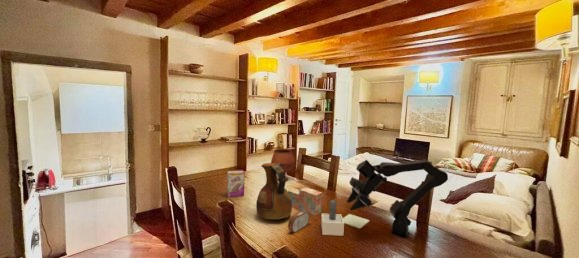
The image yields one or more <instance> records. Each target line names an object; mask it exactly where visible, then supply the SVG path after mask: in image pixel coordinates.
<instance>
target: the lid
mask: <svg viewBox="0 0 579 258" xmlns="http://www.w3.org/2000/svg"><path fill="white" fill-rule="evenodd" d="M328 214H329V215H324V216H323V217H324V222H339V223H342V222H341V218H340V215H336V214H337V200H335V199H330V200H329V213H328Z"/></svg>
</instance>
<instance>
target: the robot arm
mask: <svg viewBox="0 0 579 258" xmlns="http://www.w3.org/2000/svg"><path fill="white" fill-rule="evenodd" d="M355 170H356V171H357V172H359V173H360V174H361V175H362V176H363V177H364V178H367V179H363V180H360V179H357V178H355V177H353V176H352V177H351V178H350V180H349V185H350V186H351V192H350V194H349V197H348V198H347V200H346V203H347V204H350V203H352V202H353V201H354V202H353V204H352V205H351V206H350V207H349V210H350V211H355V210H358V209H361V208H364V207H370V206H371V205H372V200H371V198H370V195H371V194H372V193H373V192H374V193H375V192H376V189H377V188H378V187H379V185H381V184H382V183H384V184H385V185H387V184H388V177H393V176H396V175H398V174H399V173H405V172H416V171H425V173H427V174H426V176H425V179H424V180H423V182H421V184H419V185H418V186H417V187H416V188H415V189H414V190H413V191H412V192H411V193H410V194H408V195H407V196H406V197H405V198H404V199H403V200H400V201H399V200H398V199H396V200H395V201H394V202H393V203H392V204H390V207H389V213H390V214H391V216H392V217H393V218H394V220H393V221H392V227H391V230H392V232H391V234H392V235H395V236H398V237H401V238H405V239H406V238H407V237H408V236H409V234H410V232H409V226H411V223H412V221H411V219H410V218H408V216H409V215H410V212H411V210H412V208H413V207H414V206H415V205H416V204H418V203H419V202H420V201H421V200H422V199H423V198H424V197H425V196H426V195H427V194H428V193H429V192H430V191H431V190H432V189H435V188H436V187H441V186H443V184H445V183H446V182H448V180H449V176H448V173H447V172H446V171H444V170H441V169H439V168H437V167H435V166H434V165H433V164H431V163H430V162H429V161H427V160H425V159H421V160H413V161H407V162H398V163H395V162H387V161H385V162H384V161H382V162H380V163H379V164H374V165H372V164H371V163H370V162H369V161H368V160H367V159H365V160H363V161H362V162H360V163H359V164H358V165H356V169H355ZM376 172H377V173H376Z"/></svg>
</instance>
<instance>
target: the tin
mask: <svg viewBox="0 0 579 258" xmlns="http://www.w3.org/2000/svg"><path fill="white" fill-rule="evenodd" d="M309 221H310V214H309V213H308V212H307V211H305V210H300V211H298V212H296V213H294V214H293V215H292V216H290V218H289V220H288V223H287V229H288V231H289V232H292V233H297V232H298V231H300V230H302V229H304V228H305V227H306V226H307V225H308V224H309Z"/></svg>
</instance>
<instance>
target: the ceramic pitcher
mask: <svg viewBox="0 0 579 258" xmlns="http://www.w3.org/2000/svg"><path fill="white" fill-rule="evenodd" d="M279 165H280V163H271V162H266V163H263V164H261V166H260V167H261V168H263V170H264V171H265V177H266V180H265V181H266V182H265V184H264V185H263V186H262V187H261V189H260V191H259V193H258V195H257V198H256V208H255V209H256V214H257V215H258V217H260V218H262V219H266V220H280V219H286V218H288V217H289V216H290V215H291V214H292V212H293V207H292V201H291V198H290V195H289V193H288V191H289V190H287V189H286V187H285V186H286V182H287V181H286V178H285V176H286V175H285V173H284V171H283V169H282V168H281V166H279ZM277 179H279V181H278V180H277Z"/></svg>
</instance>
